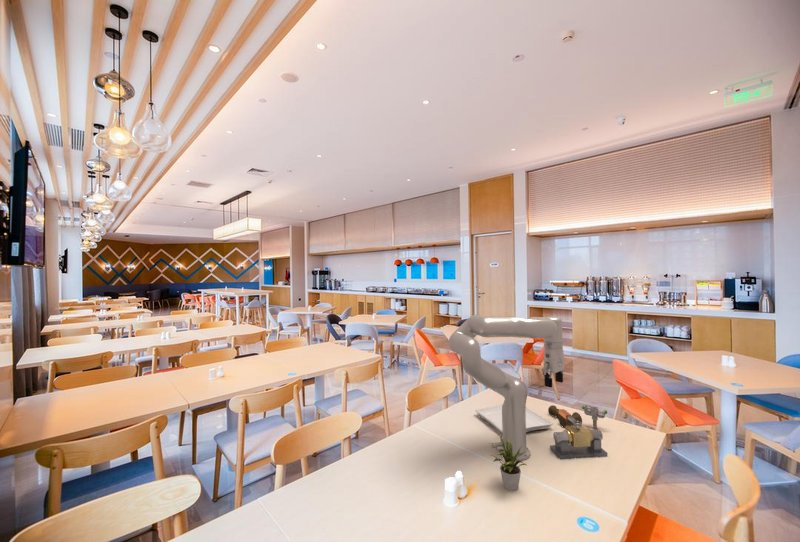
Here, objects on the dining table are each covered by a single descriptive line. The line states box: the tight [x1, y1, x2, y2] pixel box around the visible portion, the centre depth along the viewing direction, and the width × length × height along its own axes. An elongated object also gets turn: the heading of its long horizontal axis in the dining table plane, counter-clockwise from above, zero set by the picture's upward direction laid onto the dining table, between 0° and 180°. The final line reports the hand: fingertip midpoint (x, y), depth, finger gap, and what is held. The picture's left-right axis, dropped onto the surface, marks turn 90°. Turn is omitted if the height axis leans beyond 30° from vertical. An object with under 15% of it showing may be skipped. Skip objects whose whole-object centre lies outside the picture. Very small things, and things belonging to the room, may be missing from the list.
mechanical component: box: [581, 404, 608, 430], centre depth 162 cm, size 3×10×10 cm, turn 53°
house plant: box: [488, 434, 528, 492], centre depth 122 cm, size 14×14×16 cm
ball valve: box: [549, 424, 608, 460], centre depth 141 cm, size 20×8×11 cm, turn 94°
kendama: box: [547, 404, 583, 428], centre depth 169 cm, size 6×10×20 cm
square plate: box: [474, 404, 554, 434], centre depth 170 cm, size 27×27×4 cm
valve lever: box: [558, 408, 583, 427], centre depth 147 cm, size 14×3×2 cm, turn 4°
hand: (553, 384), depth 149 cm, fingers open, 8 cm apart
